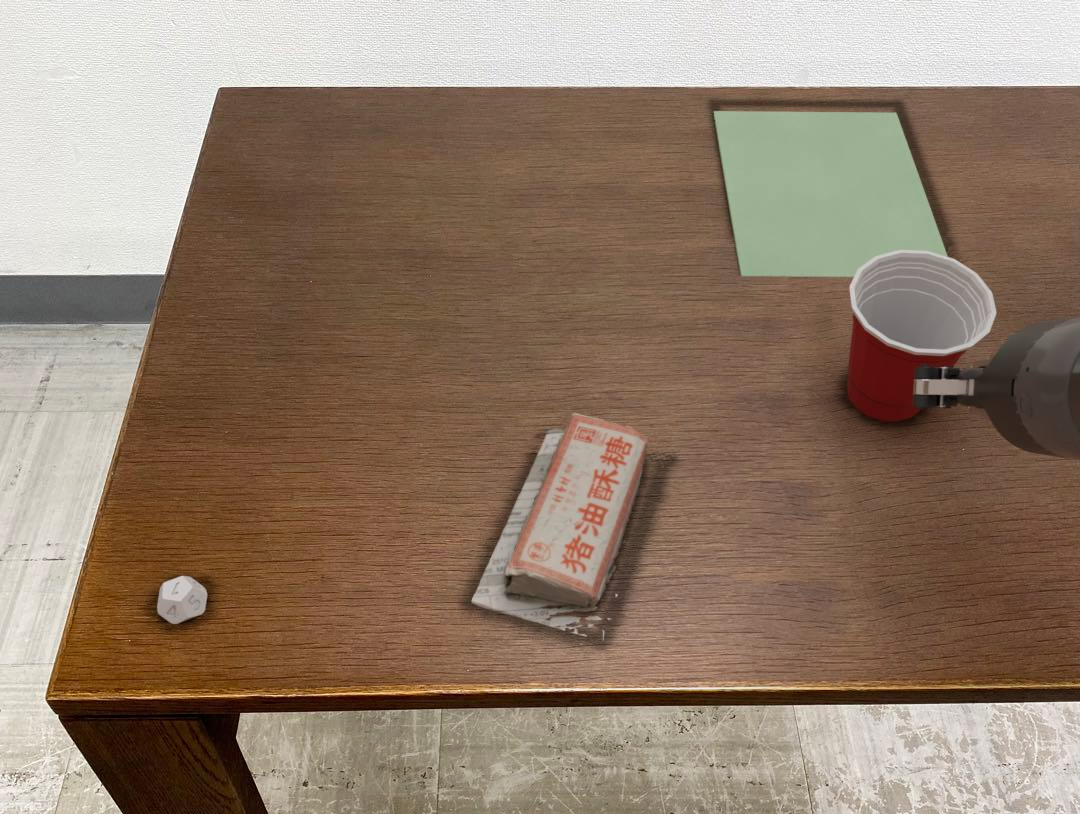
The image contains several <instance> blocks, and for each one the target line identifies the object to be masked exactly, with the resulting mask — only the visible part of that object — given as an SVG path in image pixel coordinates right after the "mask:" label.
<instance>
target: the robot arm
mask: <svg viewBox="0 0 1080 814" xmlns="http://www.w3.org/2000/svg"><path fill="white" fill-rule="evenodd" d="M913 394H915V395H913V406H912V407H919V408H918V409H920V411H922V410H923V411H925V410H928V408H942V409H952V407H958V405H959V404H960V407H965V408H966V409H969V412H970V414H971V415H972V416H984V417H985V420H986V421H990V422H991V424H992V426H993V427H994V428H995V430H996V431H997V432H998V434H999V435H1000V436H1001V437H1002V438H1003V439H1005V441H1007V442H1008V443H1009V444H1011V445H1012V446H1014V447H1016V448H1017V449H1019V450H1023V451H1024V452H1027V453H1032V454H1035V455H1043V456H1048V457H1049V456H1051V457H1057V458H1064V459H1071V460H1079V461H1080V316H1072V317H1065V318H1055V319H1049V320H1042V321H1038V322H1035V323H1032V324H1030V325H1028V326H1025V327H1023V328H1022V329H1020V330H1018V331H1016V332H1015V333H1014V334H1012V335H1011V336H1010V337H1008V339H1007V340H1006V341H1004V343H1003V344H1002V345H1000V347H999V349H998V350H997V351H996V352H995V353H993V354H990V356H989V357H988V358H981V359H980V358H979V359H975V360H974V361H973V364H972V365H968V367H964V368H962V370H960V367H955V365H954V366H945V367H930V364H921V367H915V372H914V386H913Z"/></svg>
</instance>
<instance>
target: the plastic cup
mask: <svg viewBox="0 0 1080 814" xmlns="http://www.w3.org/2000/svg"><path fill="white" fill-rule="evenodd" d="M848 290H849V299H850V306H851V311H852V332H851V339H850V347H849V358H848V367H847V369H848V377H847V384H846V390H847V396H848V399H849V400H850V402H851V403H852V405H853V406H854V408H856V409H857V410H858V411H860V412H861V413H863V414H864V415H866V416H867V417H869V418H873V419H876V420H879V421H881V422H897V423H898V422H901V421H905V420H908V419H911V418H913V417H914V416H915V415H916V414H918V413H919V412H920V411H921V410H920V409H918V408H919V407H912V406H913V395H915V394H913V386H914V372H915V367H921V364H930V367H945V366H954V367H955V365H956V364H957V362H958V361H959V359H961V357H962V356H963V355H964V354H965V353H966V352H967V351H968V350H970V349H971V348H972V347H974V346H975V345H976V344H977V343H978V342H980V341H981V340H982V339H984V337H986V336H987V335H988V334H989V333H990V332H991V330H992V327H993V324H994V321H995V319H996V316H997V313H998V312H997V308H996V303H995V299H994V295H993V292H992V290H991V289H990V288H989V286H988V285H987V284H986V282H985V281H984V280H983V279H982V277H981V276H980V275H979V274H978V273H977V272H976V271H974V270H972V269H971V268H969V267H967V266H966V265H965V264H963V263H962V262H960V261H958V260H957V259H955V258H953V257H949V256H948V257H946V256H943V255H940V254H936V253H933V252H930V251H919V250H897V251H893V252H890V253H886V254H882V255H878V256H875V257H874V258H872V259H871V260H870V261H868V262H867V263H865V264H864V265H863V266H861V267H860V268H859V269H858V270H857V272H856V274H855V276H854V277H852V281H851V282H850V285H849V289H848Z"/></svg>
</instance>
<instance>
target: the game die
mask: <svg viewBox="0 0 1080 814" xmlns="http://www.w3.org/2000/svg"><path fill="white" fill-rule="evenodd" d="M158 592H159V593H158V598H157V603H156V605H157V606H156V609H157V615H159V616H160V617H162V618H163V619H164V620H166V621H167V622H168V623H170V624H171V625H179V624H180V623H183V622H185V621H188V620H191V619H194V618H196V617H200V616H201V615H203V614H204V612H205V611H206V607H207V599H208V592H207V589H206V588H205V587H204V586H203V585H202V584H200V583H199V582H198V581H197V580H195V579H194V578H193V577H191V576H187V575H180V576H177V577H175V578H173V579H169V580H167V581H165V582H162V584H161V586H160V587H159V591H158Z"/></svg>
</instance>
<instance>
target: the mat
mask: <svg viewBox="0 0 1080 814" xmlns="http://www.w3.org/2000/svg"><path fill="white" fill-rule="evenodd" d="M713 113H714V115H713V120H715V121H714V125H715V126H714V127H715V133H716V139H717V145H718V151H719V156H720V162H721V167H722V175H723V181H724V186H725V193H726V199H727V205H728V211H729V216H730V223H731V228H732V234H733V240H734V246H735V247H734V248H735V252H736V259H737V265H738V269H739V276H740V277H801V278H803V277H805V278H806V277H809V278H811V277H814V278H816V277H819V278H821V277H823V278H854V276H855V274H856V272H857V270H858V269H859V268H860V267H861V266H863V265H864V264H865V263H867V262H868V261H870V260H871V259H872V258H874V257H875V256H878V255H882V254H886V253H890V252H893V251H897V250H919V251H930V252H933V253H936V254H940V255H943V256H946V257H949V256H948V253H947V251H946V247H945V245H944V242H943V239H942V236H941V233H940V232H939V228H938V225H937V223H936V222H937V221H936V220H935V217H934V214H933V211H932V209H931V206H930V203H929V200H928V198H927V197H928V196H927V194H926V192H925V189H924V185H923V183H922V181H921V178H920V174H919V172H918V169H917V166H916V163H915V161H914V158H913V155H912V152H911V149H910V147H909V144H908V141H907V139H906V135H905V133H904V129H903V127H902V124H901V121H900V119H899V116H898V113H897V112H886V111H885V112H878V111H877V112H871V111H870V112H869V111H867V112H865V111H862V112H861V111H859V112H858V111H765V110H763V111H758V110H757V111H753V110H751V111H749V110H748V111H747V110H745V111H744V110H742V111H741V110H713Z"/></svg>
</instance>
